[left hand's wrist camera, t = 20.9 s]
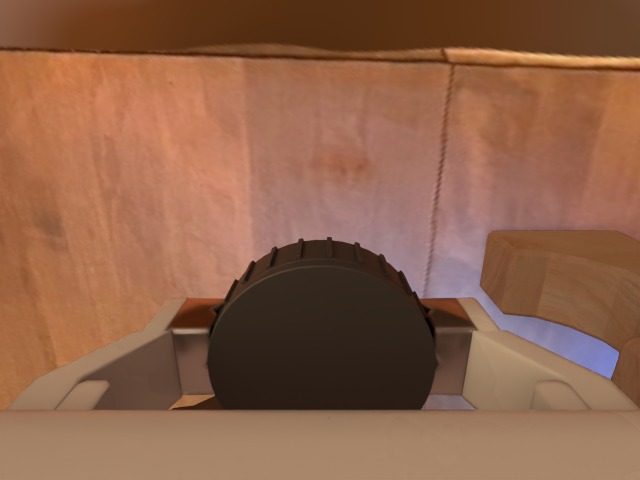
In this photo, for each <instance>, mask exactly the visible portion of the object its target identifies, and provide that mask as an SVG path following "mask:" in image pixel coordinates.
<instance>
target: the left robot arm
mask: <svg viewBox="0 0 640 480" xmlns="http://www.w3.org/2000/svg"><path fill="white" fill-rule="evenodd" d="M419 300H420V302H421V304H422V306H423V308H424V310H425V312H426V314H427V316H428V317H427V318H425V320H426V322H427V324H428V326H429V329H430V332H431V334H432V337H433V341H434V346H435V351H436V370H435V378H434V381H433V385H432V388H431V391H430V393H429V394H435V395H462V397H463V398H464V399H465V400H466V401H467V402H469V403H470V404H471V405H472V406H473V407H474V408H475V409H477V410H168V409H169V408H170V407H171V406H172V405H173V404H174V403H176V402H177V401H178V400H179V399H180V398H181V397H182V395H207V394H214V391H213V389H212V386H211V382H210V379H209V374H208V365H207V357H208V347H209V342H210V337H211V334H212V332H213V323H214V321H215V319H216V317H217V315H218V313H219V311H220V309H221V307H222V305H223V304H222V303H223V301H224V299H218V298H168V299H167V300H166V302H165V303H164V304H163V305H162V307H161V308H160V309H159V311H158V312H157V313H156V314H155V316H154V317H153V318H152V320H151V321H150V322H149V323H148V325H147V326H146V327H145V329H144V330H143V331H135V332H133V333H131V334H129V335H127V336H125V337H123V338H120V339H118V340H116V341H114V342H112V343H110V344H108V345H106V346H104V347H102V348H100V349H97V350H95V351H93V352H91V353H89V354H87V355H85V356H83V357H81V358H79V359H77V360H74V361H72V362H70V363H68V364H66V365H64V366H62V367H60V368H58V369H56V370H53V371H51V372H49V373H47V374H45V375H43V376H41V377H39V378H37V379H35V380H34V381H33V382H32V383H31V384H30V385H29V386H28V387H27V388H26V389H25V390H24V391H23V392H22V393H21V394H20V395H19V396H18V397H17V398H16V399H15V400H14V401H13V402H12V403H11V404H10V405H9V406H8V407H7V408H6V409H5V410H0V480H640V408H639V407H638V406H637V405H636V404H635V403H634V402H633V401H632V400H631V399H630V398H629V397H628V396H626V395H625V394H624V393H623V392H622V391H621V390H620V389H619V388H618V387H617V386H616V385H615V384H614V383H613V382H612V381H611V380H610V379H608V378H606V377H604V376H602V375H600V374H597V373H595V372H593V371H591V370H589V369H587V368H585V367H583V366H581V365H579V364H576V363H574V362H572V361H570V360H568V359H566V358H564V357H562V356H560V355H557V354H555V353H553V352H551V351H549V350H547V349H545V348H543V347H541V346H538V345H536V344H534V343H532V342H530V341H528V340H526V339H524V338H522V337H519V336H517V335H515V334H513V333H511V332H509V331H501V330H500V329H499V327H498V326H497V325H496V324H495V322H494V321H493V320H492V319H491V317H490V316H489V315H488V314H487V312H486V311H485V310H484V309H483V307H482V306H481V305H480V304H479V302H478V301H477V300H476V299H475V298H432V299H419Z"/></svg>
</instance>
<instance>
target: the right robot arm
mask: <svg viewBox="0 0 640 480" xmlns="http://www.w3.org/2000/svg"><path fill="white" fill-rule="evenodd" d="M171 410H223V408H222V407H221V405H220V403H219V402H218V400H217V398H216V396H214V397H212V398H209V399H207V400H205V401H203V402H201V403H198V404H196V405H194V406H187V407H178V408H173V409H171Z"/></svg>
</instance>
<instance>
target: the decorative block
mask: <svg viewBox="0 0 640 480" xmlns="http://www.w3.org/2000/svg"><path fill="white" fill-rule="evenodd" d="M480 286H481V288H482V289H483V290H484V291H485V292H486V294H487V295H488V296H489V297H490V298H491V300H492V301H493V302H494V303H495V304H496V306H497V307H498V308H499V309H500V310H501V311H502V312H503V313H504V314H508V315H518V316H527V317H536V318H539V319H543V320H546V321H550V322H554V323H557V324H561V325H564V326H568V327H570V328H573V329H575V330H578V331H580V332H582V333H585V334H587V335H589V336H592V337H594V338H597V339H599V340H601V341H604V342H605V343H607V344H608V345H610V346H611V347H613V348H614V349H615V350H617V351H618V352H620V354H619V357H618V360H617V363H616V366H615V369H614V372H613V375H612V378H611V381H612V382H613V383H614V384H615V385H616V386H617V387H618V388H619V389H620V390H621V391H622V392H623V393H624V394H625V395H626V396H628V397H629V398H630V399H631V400H632V401H633V402H634V403H635V404H636V405H637V406H638V407H639V408H640V241H638V240H636V239H633V238H631V237H629V236H627V235H624V234H622V233H620V232H618V231H492V232H491V233H490V234H489V235H488V238H487V245H486V251H485V257H484V263H483V269H482V275H481V281H480Z"/></svg>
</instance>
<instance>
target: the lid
mask: <svg viewBox="0 0 640 480" xmlns="http://www.w3.org/2000/svg"><path fill="white" fill-rule="evenodd" d="M222 304H223V305H222V307H221V309H220V311H219V313H218V315H217V317H216V319H215V321H214V323H213V332H212V334H211V337H210V342H209V347H208V357H207V365H208V374H209V379H210V382H211V386H212V389H213V391H214V394H215V396H216V398H217V400H218V402H219V403H220V405H221V407H222V408H223V410H421V408H422V407H423V405H424V404H425V402H426V400H427V398H428V396H429V393H430V391H431V388H432V385H433V381H434V378H435V370H436V351H435V346H434V341H433V337H432V334H431V332H430V329H429V326H428V324H427V322H426V320H425V318H427V317H428V316H427V314H426V312H425V310H424V308H423V306H422V304H421V302H420V300H419V298H418V296H417V294H416V292H415V291H414V292H412V290H411V288H410V286H409V284H408V282H407V280H406V278H405V275H404V273H403V272H402V271H399V272H397V271H396V270H395V269H394V268H393V267H392V266H391V265H390V264H389V263H388V262H386V260H385V257H384V255H382V254H380V255H379V256H378V255H376V254H374V253H372V252H371V251H369V250H366V249H364V248H361V247H360V244H359V243H357V242H355V244H354V245H353V244H349V243H345V242H340V241H332V237H327V240H311V241H304V240H303V238H302V239H299V241H298V243H294V244H290V245H287V246H284V247H282V248H279V249H277V247H274V248H272V250H271V253H269V254H267V255H265V256H264V257H262V258H261V259H260V260H258V261H257V262H256V263H255V262H254V261H252V262H251V263H250V264H249V266H248V268H247V270H246V272H245V273H244V274H243V276H242V277H241V278H240V279H239V281H238V280H236V279H235V281H234V282H233V284H232V286H231V288H230V290H229V292H228V294H227V296H226V297H225V299H224V301H223V303H222Z"/></svg>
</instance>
